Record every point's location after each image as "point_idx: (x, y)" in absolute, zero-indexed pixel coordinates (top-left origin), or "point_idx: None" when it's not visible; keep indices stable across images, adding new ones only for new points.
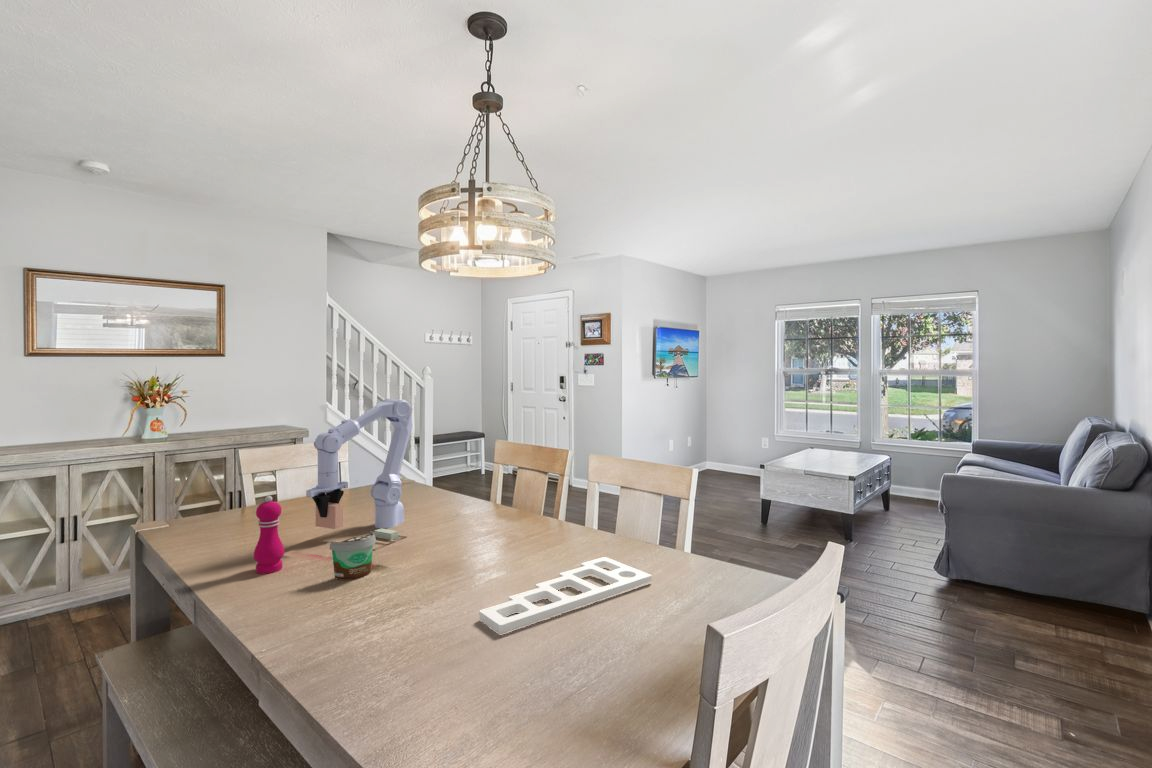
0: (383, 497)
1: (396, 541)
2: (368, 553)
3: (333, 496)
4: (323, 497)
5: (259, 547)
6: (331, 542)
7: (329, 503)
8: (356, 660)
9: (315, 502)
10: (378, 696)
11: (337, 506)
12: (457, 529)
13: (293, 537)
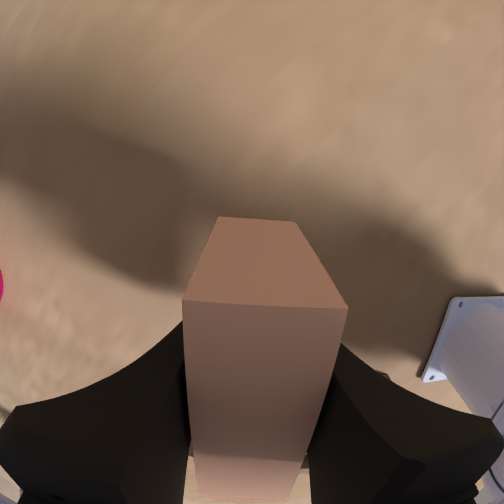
0: (496, 466)
1: (301, 473)
2: None
3: (330, 502)
4: None
5: None
6: (21, 494)
7: (272, 431)
8: (11, 487)
9: (93, 391)
10: (12, 497)
11: (222, 496)
12: None
13: (277, 10)
